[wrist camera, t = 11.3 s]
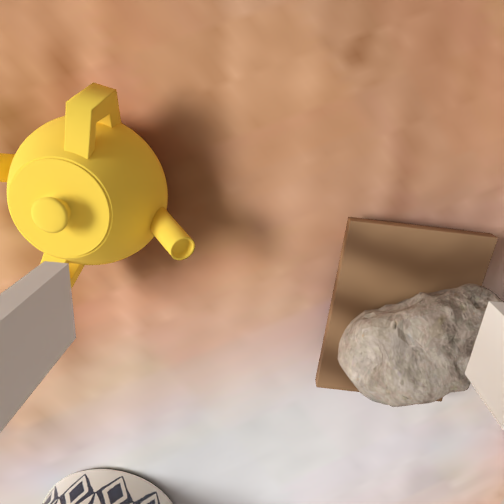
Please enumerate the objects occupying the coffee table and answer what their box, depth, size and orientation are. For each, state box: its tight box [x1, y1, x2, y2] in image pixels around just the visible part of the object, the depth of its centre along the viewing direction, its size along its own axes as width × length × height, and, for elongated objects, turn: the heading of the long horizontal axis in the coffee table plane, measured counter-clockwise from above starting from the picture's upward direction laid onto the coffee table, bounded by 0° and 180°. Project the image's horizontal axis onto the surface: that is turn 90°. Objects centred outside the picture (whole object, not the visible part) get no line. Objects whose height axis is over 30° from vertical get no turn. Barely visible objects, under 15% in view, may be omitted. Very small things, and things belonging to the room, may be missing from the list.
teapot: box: [0, 83, 195, 289], centre depth 33 cm, size 20×18×11 cm
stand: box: [315, 217, 498, 401], centre depth 40 cm, size 18×13×3 cm
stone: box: [338, 283, 503, 407], centre depth 34 cm, size 9×14×10 cm, turn 109°
